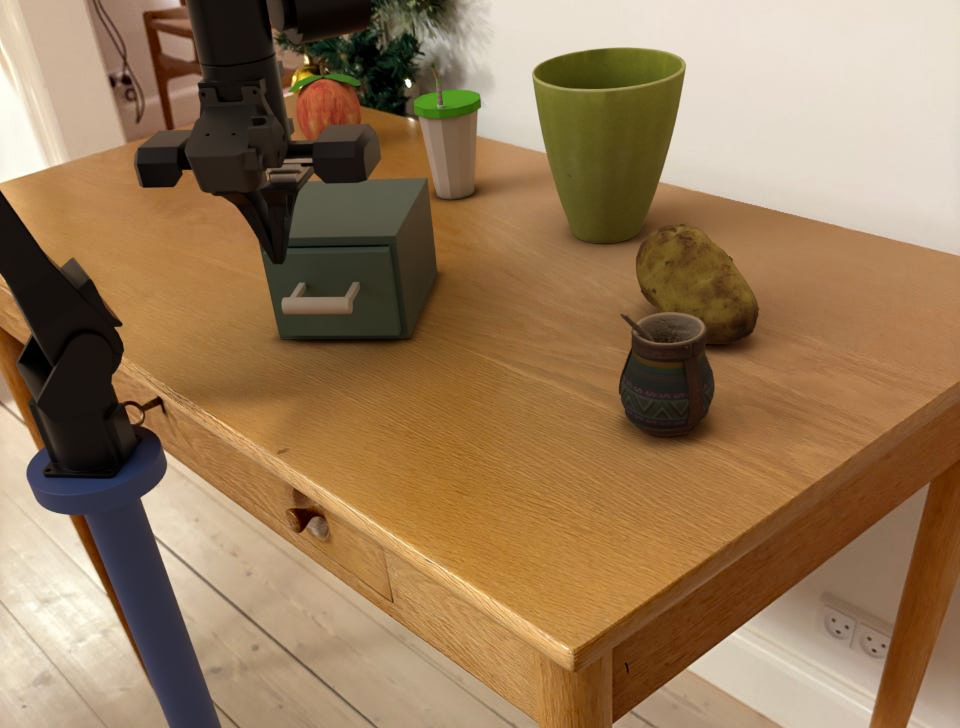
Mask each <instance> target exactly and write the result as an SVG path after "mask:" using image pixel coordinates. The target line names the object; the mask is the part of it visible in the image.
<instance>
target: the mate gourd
mask: <svg viewBox="0 0 960 728" xmlns="http://www.w3.org/2000/svg"><path fill="white" fill-rule="evenodd" d="M619 316H620V317H621V318H622V319H623V320H624V321H625V322H626V323H627V324H628V325H629V326H630V327H631V331H630V335H631V340H630V342H631V343H630V345H631V347H630V349H629V352H628V354H627V357H626V361H625V363H624V364H623V365H624V366H623V368H622V370H621V373H620V377H619V382H618V394H619V396H620V402H621V404H622V407H623V408H624V415H625V417H626V418H627V420H628V421H629V422H630V423H631V424H632V425H633V426H634V427H636V428H638V429H639V430H640V431H642V432H643V433H645V434H648V435H652V436H656V437H674V436H681V435H683V436H686V434H687V435H689V434H690V433H691V432H692V431H695V429H696V428H698V426H699V425H700V423H701V422H702V421H703V420H704V419H705V418H706V417H707V415H708V414H709V411H710V407H711V405H712V403H713V399H714V395H715V389H716V388H715V387H716V386H715V385H716V384H715V377H714V370H713V369H712V367H711V363H710V361H709V359H708V357H707V354H706V345H707V344H706V337H707V336H706V334H707V327H706V325H705V323H704V322H703V321H702V320H701V319H699V318H697V317H695V316H692V315H689V314H684V313H677V312H664V313H659V312H658V313H653V314H650V315H647V316H645V317H643V318H641V319H640V320H638V321H637V322H635V321H634V320H633V319H631V317H630V315H625V314H623V313H619Z"/></svg>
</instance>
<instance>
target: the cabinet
mask: <svg viewBox="0 0 960 728" xmlns="http://www.w3.org/2000/svg"><path fill="white" fill-rule="evenodd" d="M430 198H431V197H430V189H429V180H428V177H408V178H378V179H377V178H376V179H375V178H373V179H372V178H371V179H369V178H368V179H367V180H366V181H363V182H359V183H333V184H326V183H325V182H323V181H322V180H308V181H307V182H306V184H305V185H304V186H303V187H302V189H301V190H300V191H299V193H298V196H297V200H296V203H295V207H294V212H293V218H292V224H291V230H290V236H289V241H288V247H289V246H345V245H388V247H390V250H391V257H392V264H393V272H394V279H395V286H396V294H397V301H398V308H399V316H400V323H401V332H400V334H399V336H280V332H279V327H278V323H277V318H276V313H275V309H274V304H273V300H272V295H271V291H270V286H269V282H268V277H267V272H266V268H265V263H264V259H263V252H264V251H265V250H264V248H263V247H262V245H261V243H260V242H259V240H258V239H257V240H258V245H259V250H260V255H261V259H262V263H263V268H264V273H265V277H266V283H267V287H268V291H269V296H270V301H271V304H272V310H273V314H274V319H275V323H276V328H277V331H278V336H279V339H280V340H404V339H405V340H409V339H410V337H411V336H412V333H413V331H414V328H415V327H416V324H417V322H418V319H419V318H420V315H421V312H422V310H423V308H424V306H425V304H426V302H427V299H428V297H429V295H430V292H431V290H432V288H433V286H434V283H435V282H436V279H437V276H438V274H439V273H438V272H439V271H438V261H437V253H436V245H435V243H436V242H435V236H434V225H433V218H432V217H433V216H432V208H431V199H430Z"/></svg>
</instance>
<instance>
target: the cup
mask: <svg viewBox="0 0 960 728" xmlns="http://www.w3.org/2000/svg"><path fill="white" fill-rule="evenodd" d="M429 67H430V68H431V72H432V73H433V75H434V78H435V85H436V87H435V88H436V91H434V92H430V93H429V92H428V93H425V94H422V95H420V96H419V97H417V98H415V99H414V100H413V111H414V115H415V116H418V120H419V125H420V129H421V133H422V137H423V141H424V142H423V143H424V146H425V150H426V155H427V159H428V163H429V168H430V173H431V176H432V180H433V185H434V189H435V194H436V196H437V197H438V198H440V199H442V200H451V201H452V200H460V199H464V198H468V197H470V196H471V195H473V194H474V193H475V181H476V180H475V179H476V178H475V177H476V159H477V156H476V155H477V134H478V114H479V113H478V112H479V110H480V109H481V108H482V99H481V95H480V93H479V92H476V91H474V90H473V91H472V90H470V89H469V90H468V89H447V90H442V89H443V87H442V78H441V74H440V72H439V70H438V67H437V65H436V63H435V62H431V63H430V66H429Z"/></svg>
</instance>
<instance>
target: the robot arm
mask: <svg viewBox="0 0 960 728" xmlns="http://www.w3.org/2000/svg"><path fill="white" fill-rule="evenodd" d="M185 5H186V10H187V15H188V19H189V22H190V27H191V32H192V35H193V40H194V44H195V45H194V46H195V49H196V53H197V59H198V62H199V68H200V72H201V77H202V79H201V80H199V81H198V82H197V83H196V84H197V88H198V91H197V96H198V99H199V117H198V118H197V119H196V120H195V122H194V124H193V127H192V129H171V130H169V129H168V130H165V129H164V130H158V131H157V132H155V133H154V134H153V135H152V136H150V137H149V138H148V139H147V140H145V142H143V143H142V144H141V145H140V146H138V147H137V149H136V150H135V153H134V155H133V156H134V157H133V167H134V170H135V174H136V177H137V178H136V179H137V181H138V185H139V187H141V188H142V189H155V188H156V189H159V188H160V189H161V188H162V189H163V188H164V189H165V188H174V187H176V186H177V185H178V183H179V182H180V180H181V178H182V177H183V175H184V173H183V171H192V173H193V176H194V178H195V180H196V183H197V185H198V187H199V189H200V191H201V192H203V193H205V194H211V195H212V196H213V197H221V198H223V199H225V200H227V201H228V202H229V203H231V204H233V206H235V207H236V208H237V210H238V211H239V212H240V214H241V215H242V216H243V218H244V219H245V220H246V222H247V224H248V225H249V227H250V228H251V231H252V232H253V234H254V235H255V237H256V238H257V240H259V241H258V243H259V242H260V243H261V245H262V247H263V248H264V250H265V252H266V254H267V255H268V257H269V259H270V260H271V262H272V263H273V264H274V265H277V264H279V265H281V264H283V263H284V261H285V259H286V253H287V247H288V241H289V236H290V230H291V224H292V218H293V212H294V207H295V203H296V200H297V196H298V193H299V191H300V190H301V189H302V187H303V186H304V185H305V184H306V182H307V181H310V179H311V178H312V176H313V175H316V176H317V177H318V178H319V179H320V181H323V182H325V183H326V184H333V183H359V182H363V181H366V180H369V178H370V176H371V175H372V173H373V172H374V170H375V169H376V168H377V166H378V165H379V163H380V162H381V160H382V154H381V152H382V151H381V146H380V145H381V144H380V138H379V135H378V133H377V131H376V130H375V129H374V127H372V126H371V124H370V123H361V124H345V125H328V126H327V127H326V128H325V129H324V130H323V131H322V133H321V134H320V135H319V136H318V137H317V138H316V140H308V139H300V140H297V139H294V140H292V135H293V134H294V133H295V125H294V120H293V117H288V114H287V106H286V100H285V96H284V90H283V84H282V80H281V79H282V78H283V77H285V69H284V63H283V60H278V58H277V51H276V47H275V42H274V34H273V30H272V26H273V28H274V30H276V32H278V33H285V35H286V36H287V39H288V40H289V41H290V42H291V43H292V44H294V45H301V44H307V43H312V42H317V41H321V40H325V39H331V38H336V37H341V36H345V35H351V34H355V33H360V32H365V31H366V30H367V29H368V27H369V25H370V22H371V17H372V0H185ZM271 24H272V25H271ZM267 175H268V176H267ZM0 276H1V277H2V278H3V280H4V281H5V283H6V285H7V287H8V290H9V291H10V294H11V296H12V297H13V300H14V302H15V303H16V306H17V308H18V310H19V311H20V313H21V315H22V318H23V320H24V322H25V324H26V326H27V327H28V329H29V331H30V335H29V336H28V338H27V341H26V343H25V344H24V346H23V348H22V350H21V352H20V354H19V356H18V357H17V359H16V361H15V367H16V368H17V370H18V372H19V375H20V376H21V377H22V380H23V381H24V383H25V385H26V387H27V388H28V390H29V392H30V394H31V398H30V399H29V400H28V401H27V402H26V405H27V407H28V409H29V412H30V414H31V417H32V419H33V421H34V424H35V427H36V429H37V431H38V433H39V437H40V439H41V441H42V444H43V447H45V448H46V451H47V453H48V456H49V458H50V462H49V464H48V465H47V466H46V467H45V468H44V470H43V471H42V472H43V475H44V477H46V478H85V479H111V478H114V477H115V476H116V475H117V474H118V473H119V471H120V470H121V469H122V467H123V466H124V464H125V463H126V462H127V460H128V459H129V458H130V456H131V455H132V454H133V452H134V451H135V450H136V448H137V447H138V445H139V444H140V443H141V441H142V437H141V435H140V434H134V431H133V429H132V426H131V424H132V423H131V420H130V417H129V415H128V410H127V408H126V406H125V404H124V402H119V398H118V396H117V393H116V390H115V387H114V384H113V375H115V373H116V372H117V371H118V368H119V367H120V366H121V363H122V360H123V355H124V353H125V347H124V346H125V345H124V342H123V340H122V338H121V336H120V333H119V332H118V331H117V329H116V328H121V327H123V325H124V324H123V321H121V319H120V318H119V317H118V315H117V314H116V312H114V311H113V309H112V308H111V307H110V305H109V304H108V303H107V302H106V300H105V299H104V298H103V296H102V295H101V294H100V292H99V290H98V288H97V286H96V284H95V282H94V280H93V279H92V277H90V275H89V274H88V273H87V272H86V270H85V269H84V268H83V267H82V266H81V264H80V263H79V262H78V261H77V259H76V258H75V257H71V258H70V259H68V260H67V261H66V262H65V263H64V264H63V265H62V266H60V265H59V264H58V263H57V262H55V260H53V258H51V256H49V255H48V254H47V252H45V251H44V250H43V248H42V247H41V245H40V244H39V243H38V242H37V240H36V238H35V236H33V234H32V232H31V231H30V230H29V229H28V226H26V224H25V223H24V221H23V220H22V219H21V217H20V216H19V214H18V213H17V211H16V210H15V209H14V207H13V205H12V204H11V203H10V202H9V200H8V199H7V197H6V196H5V195H4V193H3V192H2V190H1V189H0Z"/></svg>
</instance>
